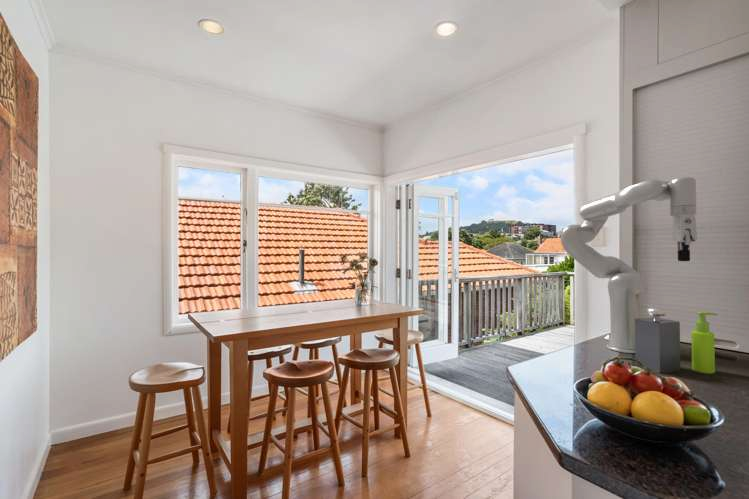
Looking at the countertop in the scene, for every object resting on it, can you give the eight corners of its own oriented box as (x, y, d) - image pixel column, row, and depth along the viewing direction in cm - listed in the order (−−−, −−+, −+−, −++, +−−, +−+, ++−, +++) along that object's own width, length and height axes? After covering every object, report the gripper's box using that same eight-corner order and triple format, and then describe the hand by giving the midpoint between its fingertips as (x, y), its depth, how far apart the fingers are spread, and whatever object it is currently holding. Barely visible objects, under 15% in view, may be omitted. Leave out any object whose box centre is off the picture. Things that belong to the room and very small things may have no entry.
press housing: (635, 365, 135) (634, 318, 135) (655, 362, 137) (654, 317, 137) (659, 373, 126) (659, 323, 126) (680, 370, 128) (679, 321, 128)
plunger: (641, 361, 134) (640, 308, 134) (655, 359, 135) (654, 307, 135) (659, 366, 128) (658, 310, 128) (673, 365, 129) (672, 309, 129)
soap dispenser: (722, 374, 124) (722, 313, 124) (698, 373, 126) (697, 313, 125) (710, 368, 130) (709, 310, 130) (688, 367, 131) (687, 310, 131)
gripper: (703, 209, 130) (704, 261, 130) (688, 212, 144) (689, 260, 144) (676, 210, 133) (677, 261, 133) (664, 213, 147) (665, 260, 147)
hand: (683, 260), depth 139 cm, fingers closed
